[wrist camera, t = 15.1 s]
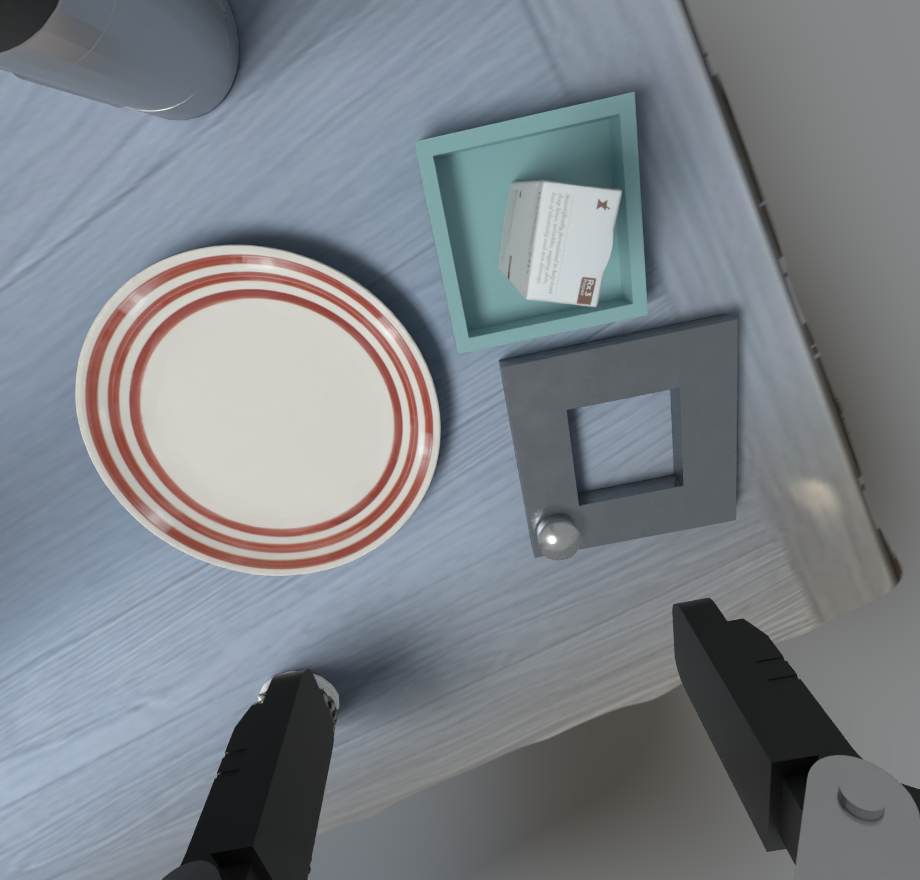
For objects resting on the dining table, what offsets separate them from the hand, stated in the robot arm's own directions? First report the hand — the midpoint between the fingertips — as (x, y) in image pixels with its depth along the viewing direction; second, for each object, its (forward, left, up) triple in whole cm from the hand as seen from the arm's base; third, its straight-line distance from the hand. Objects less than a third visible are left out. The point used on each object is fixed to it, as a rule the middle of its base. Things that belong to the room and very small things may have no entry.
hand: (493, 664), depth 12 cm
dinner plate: (-16, -4, -34) cm, 37 cm away
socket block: (+12, -12, -33) cm, 37 cm away
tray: (+7, +6, -33) cm, 34 cm away
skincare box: (+7, +6, -33) cm, 34 cm away
